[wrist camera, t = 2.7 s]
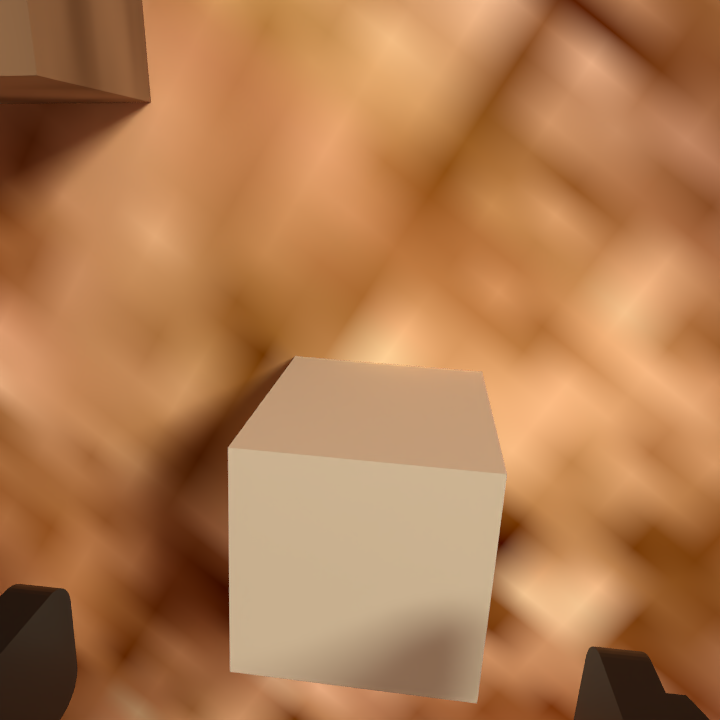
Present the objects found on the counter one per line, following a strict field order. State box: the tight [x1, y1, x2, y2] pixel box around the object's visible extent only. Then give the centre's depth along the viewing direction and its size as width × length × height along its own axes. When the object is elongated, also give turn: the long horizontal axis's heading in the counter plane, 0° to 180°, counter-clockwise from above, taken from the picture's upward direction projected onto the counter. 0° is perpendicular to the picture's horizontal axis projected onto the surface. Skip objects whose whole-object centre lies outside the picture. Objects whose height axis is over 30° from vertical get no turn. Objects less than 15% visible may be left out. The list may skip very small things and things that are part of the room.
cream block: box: [228, 356, 507, 703], centre depth 15 cm, size 5×5×6 cm
